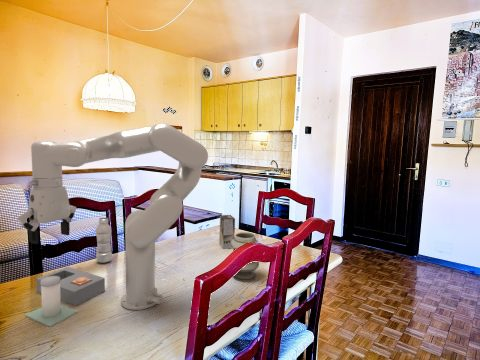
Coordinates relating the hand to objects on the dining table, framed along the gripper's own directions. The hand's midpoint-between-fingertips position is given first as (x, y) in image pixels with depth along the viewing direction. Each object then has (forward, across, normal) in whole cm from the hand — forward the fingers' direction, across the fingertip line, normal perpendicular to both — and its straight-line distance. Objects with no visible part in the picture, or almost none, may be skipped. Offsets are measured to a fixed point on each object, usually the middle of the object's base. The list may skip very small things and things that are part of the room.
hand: (50, 238), depth 94 cm
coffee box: (+25, +85, -18) cm, 90 cm away
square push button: (+24, +12, +2) cm, 27 cm away
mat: (+24, -1, 0) cm, 24 cm away
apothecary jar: (+25, +55, -41) cm, 73 cm away
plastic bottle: (+25, +37, +20) cm, 49 cm away
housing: (+24, +12, +8) cm, 28 cm away
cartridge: (+24, -1, 0) cm, 24 cm away
